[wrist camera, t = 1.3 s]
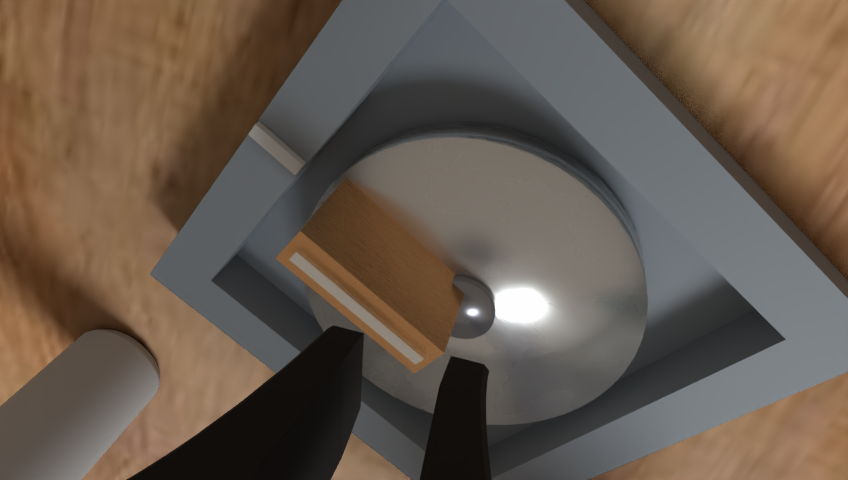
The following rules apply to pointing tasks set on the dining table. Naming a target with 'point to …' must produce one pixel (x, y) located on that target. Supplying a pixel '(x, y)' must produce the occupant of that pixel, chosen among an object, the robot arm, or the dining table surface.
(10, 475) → the beverage can
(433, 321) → the dial
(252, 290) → the slate tray
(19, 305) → the dining table surface
